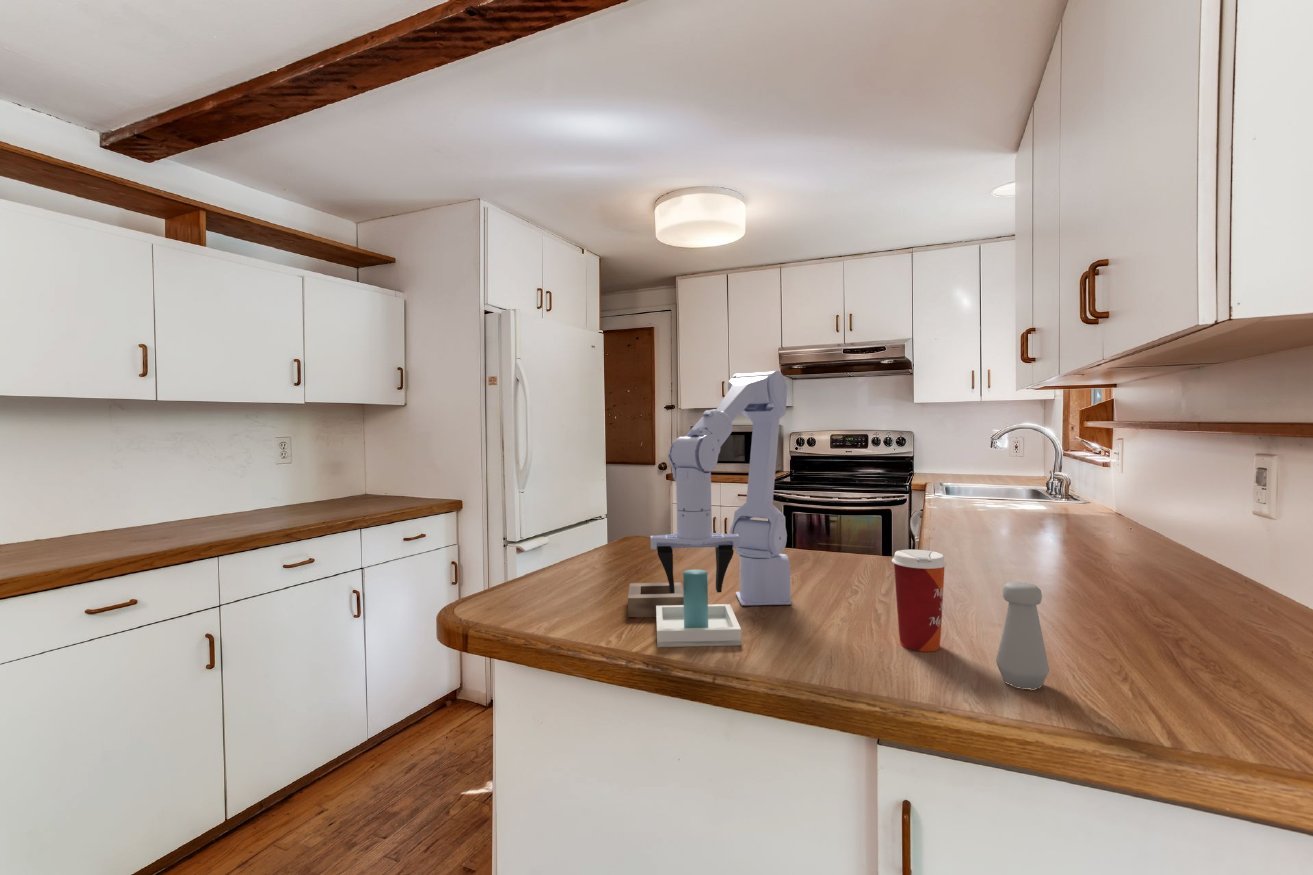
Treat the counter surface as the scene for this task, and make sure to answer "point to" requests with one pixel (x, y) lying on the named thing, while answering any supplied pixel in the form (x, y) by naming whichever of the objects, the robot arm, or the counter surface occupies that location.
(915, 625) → the paper cup
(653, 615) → the socket block
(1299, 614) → the counter surface
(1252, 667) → the counter surface
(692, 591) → the dowel
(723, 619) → the tray
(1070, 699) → the counter surface
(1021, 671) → the salt shaker
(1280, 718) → the counter surface
